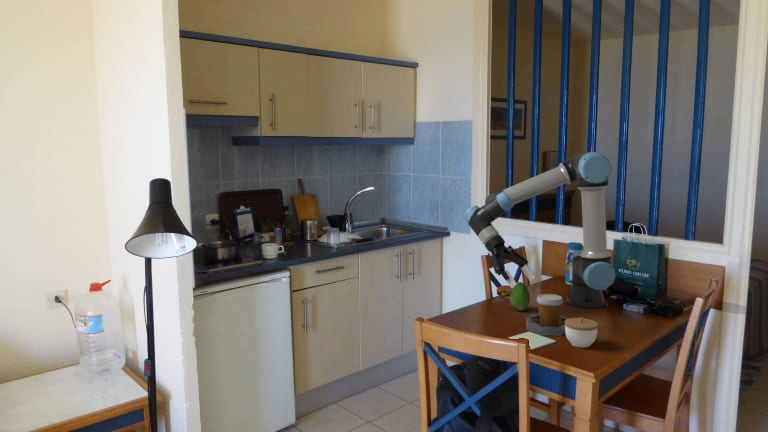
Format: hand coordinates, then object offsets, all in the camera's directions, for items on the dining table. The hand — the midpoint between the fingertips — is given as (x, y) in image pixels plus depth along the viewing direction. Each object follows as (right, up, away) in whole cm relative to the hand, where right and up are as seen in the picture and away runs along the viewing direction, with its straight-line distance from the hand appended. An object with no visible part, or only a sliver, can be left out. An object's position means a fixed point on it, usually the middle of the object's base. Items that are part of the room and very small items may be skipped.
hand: (524, 283), depth 211 cm
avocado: (+3, -14, +17) cm, 22 cm away
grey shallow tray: (+8, -16, -6) cm, 19 cm away
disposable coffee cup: (+8, -16, -6) cm, 19 cm away
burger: (+2, -11, +39) cm, 41 cm away
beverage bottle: (+40, -8, +61) cm, 74 cm away
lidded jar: (+13, -18, -23) cm, 32 cm away
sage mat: (-3, -18, -19) cm, 26 cm away
